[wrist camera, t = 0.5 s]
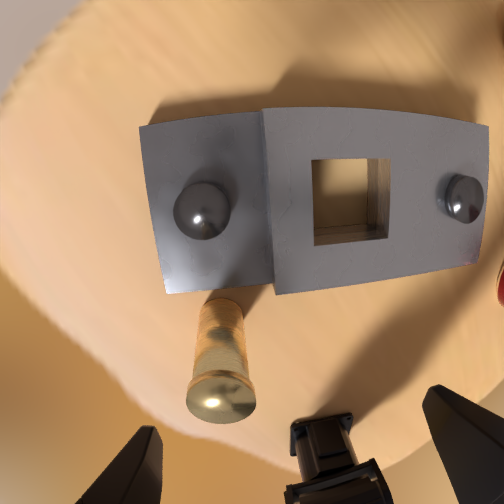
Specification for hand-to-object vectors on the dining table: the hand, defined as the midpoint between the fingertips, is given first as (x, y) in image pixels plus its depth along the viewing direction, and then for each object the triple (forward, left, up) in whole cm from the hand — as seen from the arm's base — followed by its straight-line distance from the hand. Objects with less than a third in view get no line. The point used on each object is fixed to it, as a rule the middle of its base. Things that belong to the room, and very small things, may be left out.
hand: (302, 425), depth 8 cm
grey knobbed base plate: (+4, -5, -12) cm, 14 cm away
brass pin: (-4, +3, -12) cm, 13 cm away
